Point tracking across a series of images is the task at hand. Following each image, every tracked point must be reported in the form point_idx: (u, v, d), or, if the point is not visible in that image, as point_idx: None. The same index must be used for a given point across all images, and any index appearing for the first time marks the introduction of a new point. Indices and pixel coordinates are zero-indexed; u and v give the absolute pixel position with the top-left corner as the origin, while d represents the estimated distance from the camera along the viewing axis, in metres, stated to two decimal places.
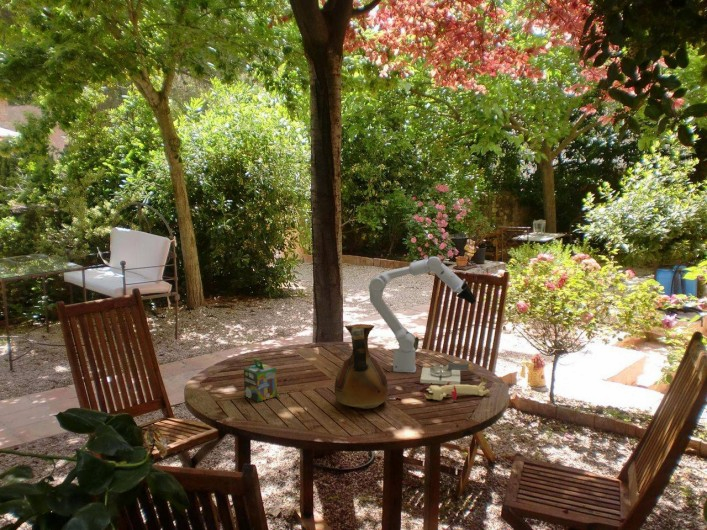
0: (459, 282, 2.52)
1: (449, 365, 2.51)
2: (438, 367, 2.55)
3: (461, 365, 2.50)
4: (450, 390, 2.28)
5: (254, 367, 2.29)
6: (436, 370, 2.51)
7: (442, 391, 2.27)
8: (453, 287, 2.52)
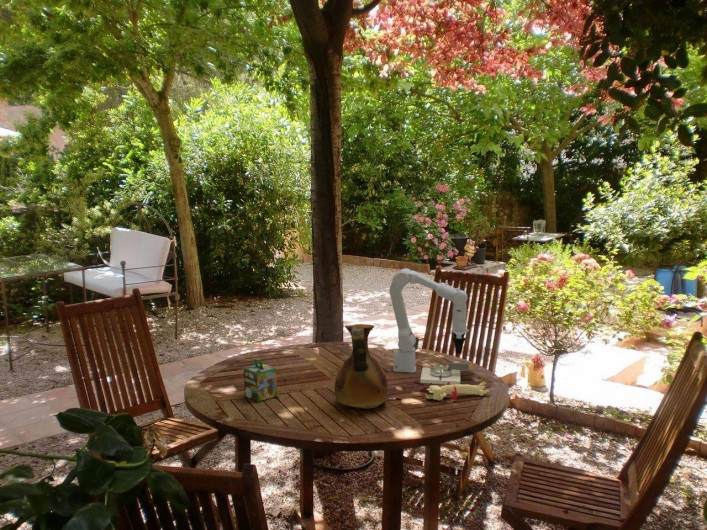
0: (463, 329, 2.52)
1: (449, 365, 2.51)
2: (438, 367, 2.55)
3: (461, 365, 2.50)
4: (450, 390, 2.28)
5: (254, 367, 2.29)
6: (436, 370, 2.51)
7: (442, 391, 2.27)
8: (455, 328, 2.52)
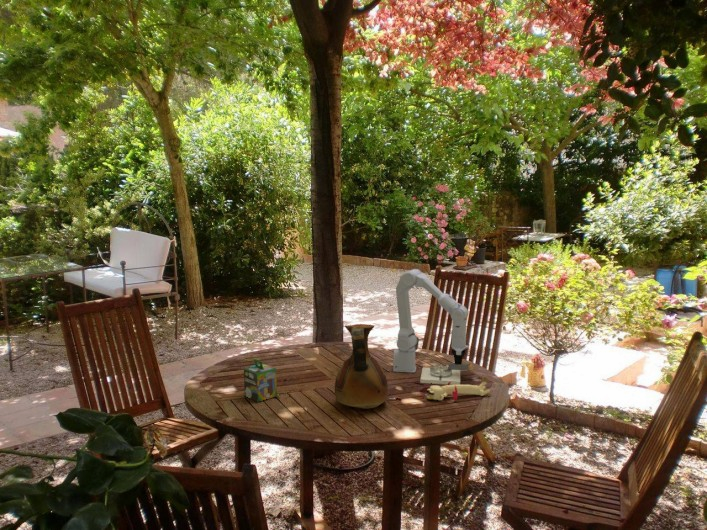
0: (463, 345, 2.49)
1: (449, 365, 2.51)
2: (438, 367, 2.55)
3: (461, 365, 2.50)
4: (451, 390, 2.28)
5: (254, 367, 2.29)
6: (436, 370, 2.51)
7: (443, 391, 2.27)
8: (455, 344, 2.49)
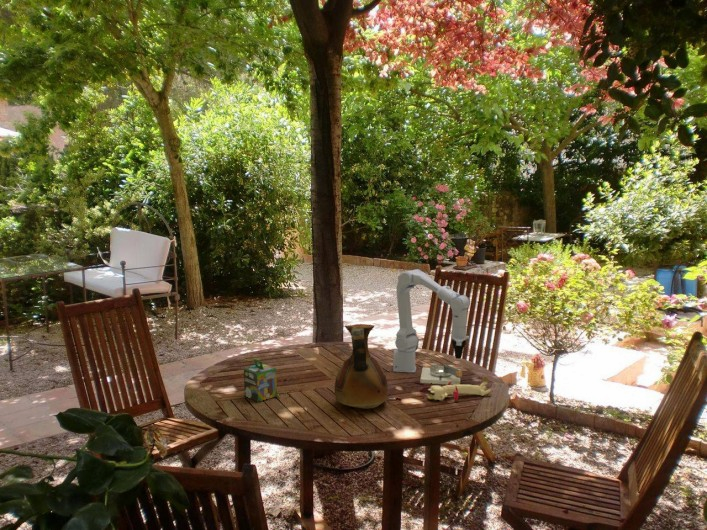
0: (463, 336, 2.42)
1: (444, 367, 2.49)
2: (442, 367, 2.54)
3: (451, 369, 2.45)
4: (452, 390, 2.28)
5: (254, 367, 2.29)
6: (433, 368, 2.53)
7: (444, 391, 2.27)
8: (455, 335, 2.42)
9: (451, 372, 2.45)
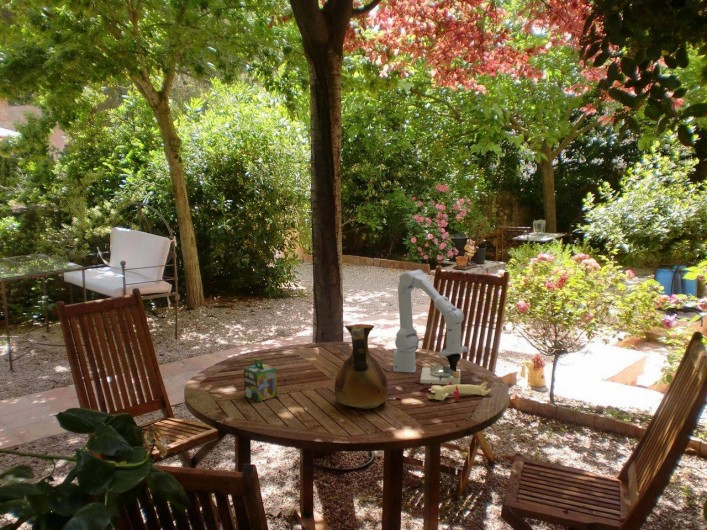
0: (452, 349, 2.43)
1: (443, 367, 2.49)
2: (443, 367, 2.54)
3: (450, 369, 2.44)
4: (452, 390, 2.28)
5: (254, 367, 2.29)
6: (433, 368, 2.53)
7: (444, 391, 2.27)
8: (446, 347, 2.45)
9: (449, 372, 2.45)
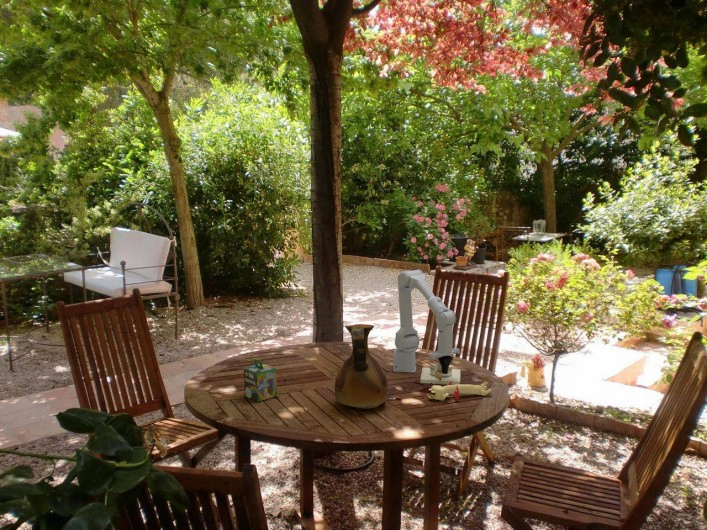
0: (444, 351, 2.40)
1: (438, 366, 2.49)
2: None
3: None
4: (452, 390, 2.28)
5: (254, 367, 2.29)
6: (435, 367, 2.55)
7: (444, 391, 2.27)
8: (438, 349, 2.42)
9: None
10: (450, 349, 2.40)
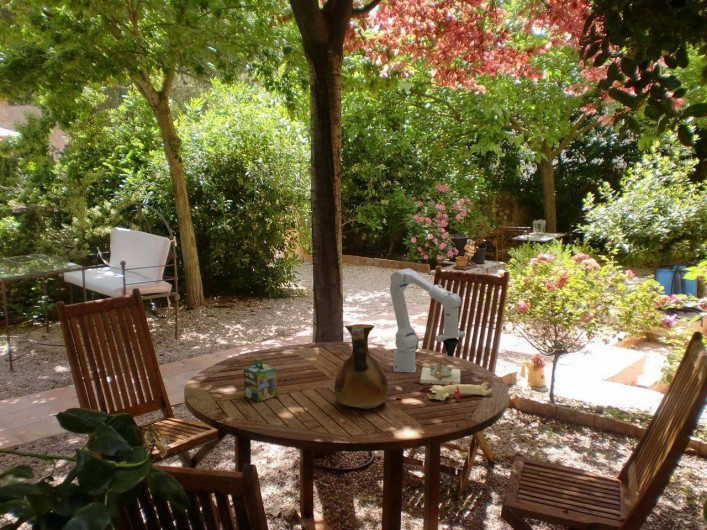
0: (449, 334, 2.45)
1: (438, 366, 2.49)
2: (445, 368, 2.53)
3: (437, 369, 2.44)
4: (453, 390, 2.28)
5: (254, 367, 2.29)
6: (435, 367, 2.55)
7: (445, 391, 2.27)
8: (444, 331, 2.47)
9: None
10: (456, 332, 2.45)
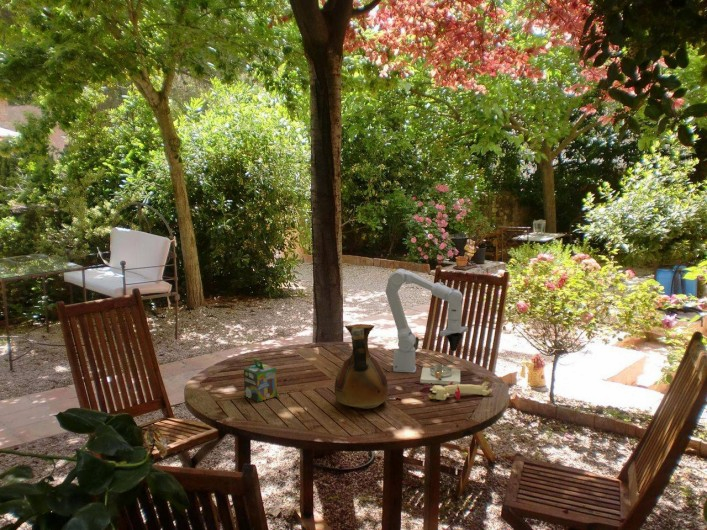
0: (453, 329, 2.53)
1: (438, 366, 2.49)
2: (445, 368, 2.53)
3: (437, 369, 2.44)
4: (453, 390, 2.28)
5: (254, 367, 2.29)
6: (435, 367, 2.55)
7: (445, 391, 2.27)
8: None
9: None
10: (459, 327, 2.53)
